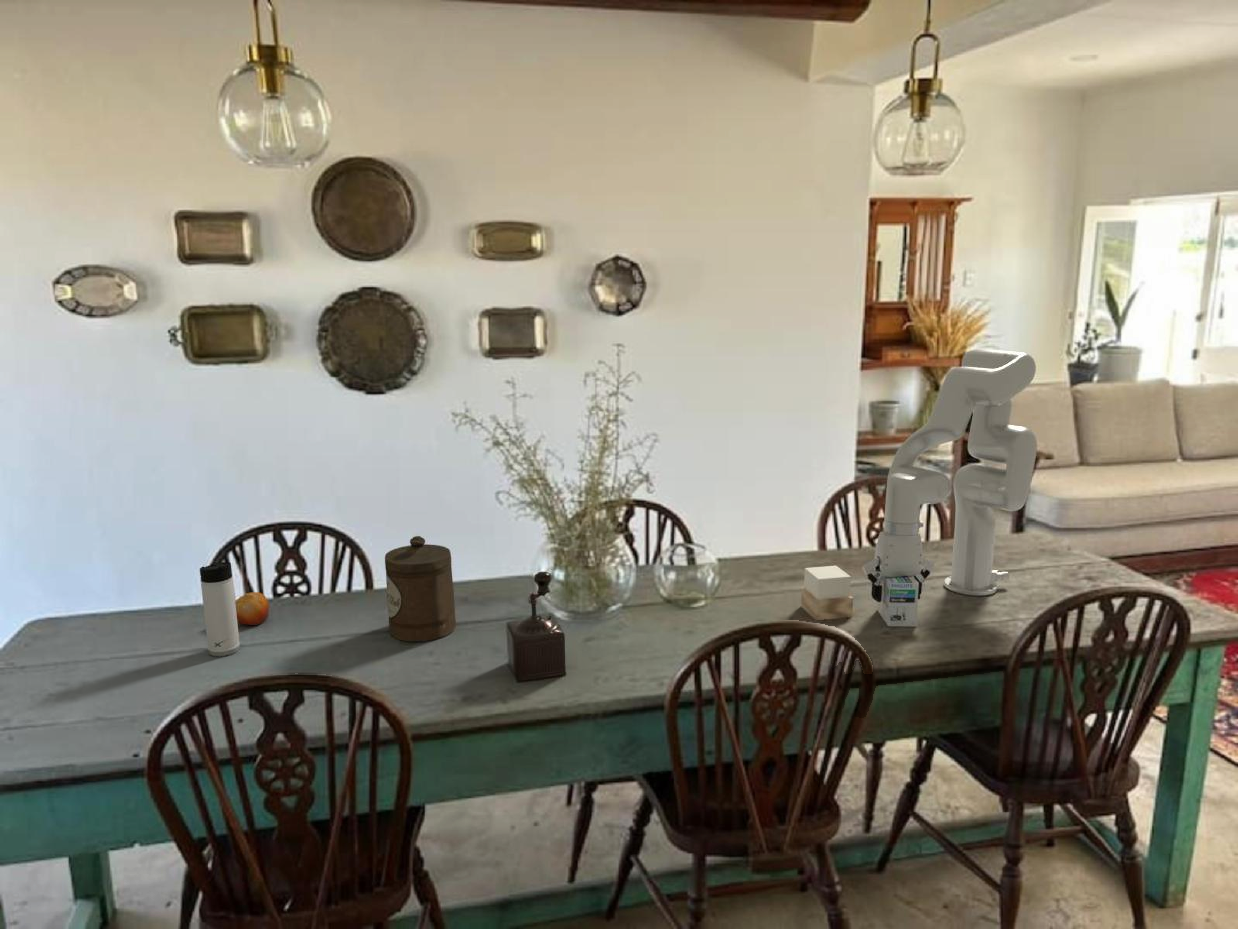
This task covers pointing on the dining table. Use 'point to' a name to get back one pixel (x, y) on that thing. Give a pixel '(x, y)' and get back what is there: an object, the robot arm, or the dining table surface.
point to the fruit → (252, 608)
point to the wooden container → (420, 591)
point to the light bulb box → (899, 601)
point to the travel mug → (219, 609)
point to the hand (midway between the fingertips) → (896, 598)
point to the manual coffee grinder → (536, 641)
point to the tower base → (826, 606)
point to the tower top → (827, 582)
